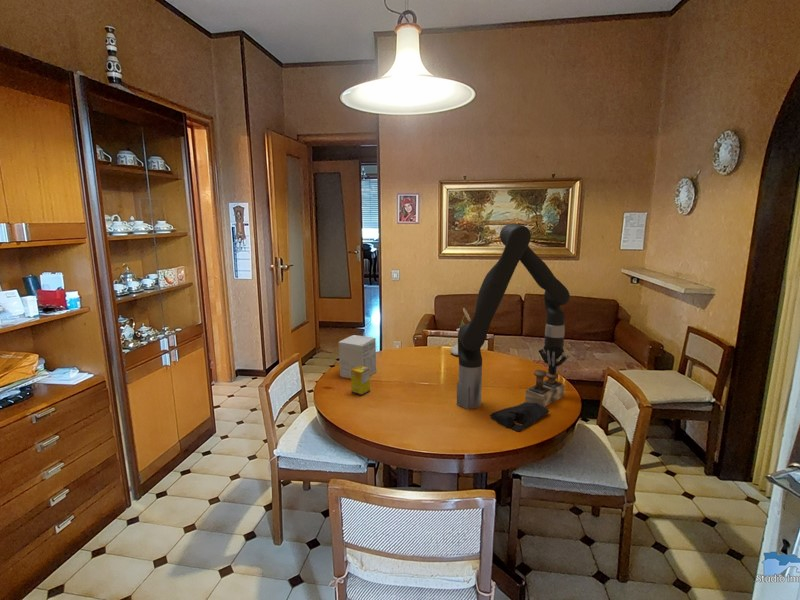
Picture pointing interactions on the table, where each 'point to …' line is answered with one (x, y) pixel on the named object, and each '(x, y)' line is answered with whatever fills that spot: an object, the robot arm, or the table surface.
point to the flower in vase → (455, 348)
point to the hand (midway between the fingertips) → (552, 373)
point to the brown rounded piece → (539, 377)
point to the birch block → (545, 393)
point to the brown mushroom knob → (551, 378)
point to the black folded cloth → (519, 415)
